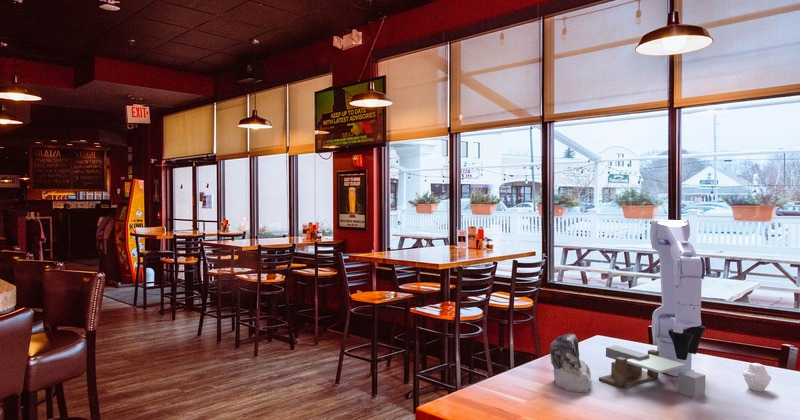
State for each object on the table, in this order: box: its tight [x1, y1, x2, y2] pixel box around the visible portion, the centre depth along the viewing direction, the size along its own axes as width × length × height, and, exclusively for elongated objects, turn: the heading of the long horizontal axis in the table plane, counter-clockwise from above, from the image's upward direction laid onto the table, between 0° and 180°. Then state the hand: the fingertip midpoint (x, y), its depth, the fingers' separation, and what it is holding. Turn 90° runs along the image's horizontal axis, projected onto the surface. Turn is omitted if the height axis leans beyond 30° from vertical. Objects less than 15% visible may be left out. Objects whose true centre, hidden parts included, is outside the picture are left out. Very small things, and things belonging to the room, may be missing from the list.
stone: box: [549, 332, 593, 393], centre depth 142 cm, size 14×10×15 cm
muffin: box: [742, 362, 772, 392], centre depth 140 cm, size 6×6×7 cm
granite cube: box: [677, 370, 707, 399], centre depth 137 cm, size 4×4×5 cm
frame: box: [598, 349, 659, 389], centre depth 147 cm, size 16×7×8 cm, turn 121°
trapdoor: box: [605, 345, 685, 374], centre depth 144 cm, size 11×18×3 cm, turn 31°
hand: (686, 356), depth 137 cm, fingers open, 7 cm apart
